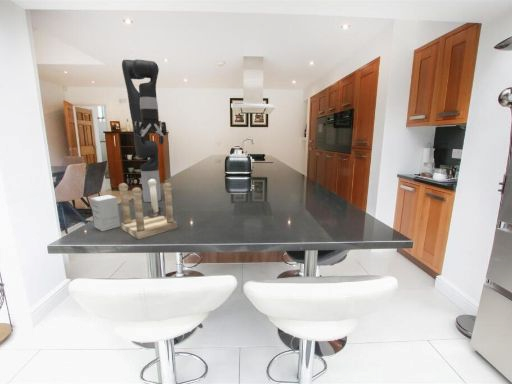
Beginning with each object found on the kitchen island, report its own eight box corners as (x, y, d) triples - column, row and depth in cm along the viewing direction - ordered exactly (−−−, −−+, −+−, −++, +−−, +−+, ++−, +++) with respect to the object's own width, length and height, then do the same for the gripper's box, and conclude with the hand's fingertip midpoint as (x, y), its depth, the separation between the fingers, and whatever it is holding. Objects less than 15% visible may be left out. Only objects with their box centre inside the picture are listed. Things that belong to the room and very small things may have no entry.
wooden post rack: (121, 228, 107) (115, 183, 103) (159, 218, 119) (156, 177, 115) (138, 239, 97) (133, 189, 93) (179, 227, 109) (176, 182, 105)
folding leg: (149, 211, 115) (146, 179, 112) (157, 210, 117) (153, 178, 115) (153, 213, 113) (149, 179, 110) (161, 211, 115) (157, 178, 112)
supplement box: (113, 222, 114) (109, 194, 112) (120, 226, 110) (117, 196, 107) (94, 227, 109) (89, 197, 106) (101, 231, 104) (97, 200, 101)
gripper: (159, 109, 128) (162, 144, 132) (129, 108, 118) (133, 145, 121) (167, 108, 123) (170, 144, 127) (137, 106, 113) (140, 145, 116)
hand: (152, 144), depth 124 cm, fingers open, 8 cm apart
